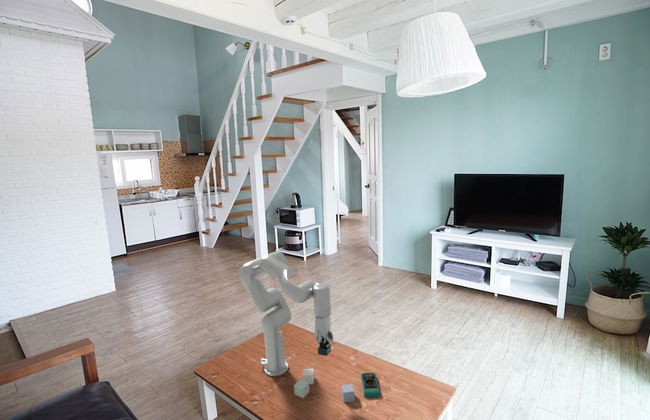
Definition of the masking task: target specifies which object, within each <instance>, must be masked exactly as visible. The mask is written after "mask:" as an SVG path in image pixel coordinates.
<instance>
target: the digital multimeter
mask: <svg viewBox="0 0 650 420" xmlns="http://www.w3.org/2000/svg"><path fill="white" fill-rule="evenodd" d="M360 378H361V383H362V387H363V388H362V389H363V396H364V398H377V397H381V392H380V388H379V384H378V381H377V380H378V379H377V373H376V372H363V373H361V374H360Z"/></svg>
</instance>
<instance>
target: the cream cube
mask: <svg viewBox="0 0 650 420" xmlns="http://www.w3.org/2000/svg"><path fill="white" fill-rule="evenodd" d="M301 378H302V380H304V381H307V382H309V385H313V384H314V381H315V369H314V368H303V371H302V373H301Z"/></svg>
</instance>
